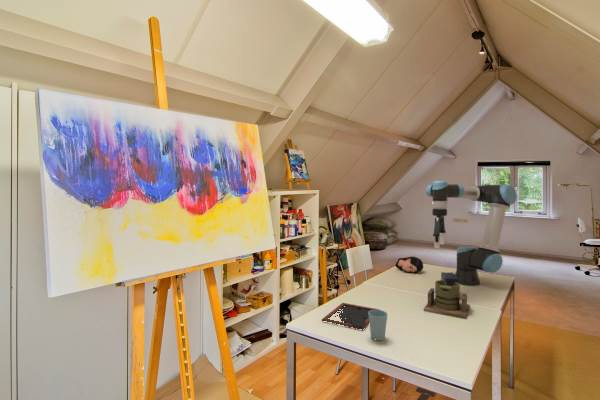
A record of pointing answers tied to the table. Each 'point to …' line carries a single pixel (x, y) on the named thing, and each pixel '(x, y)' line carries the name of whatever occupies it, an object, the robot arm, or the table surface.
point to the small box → (449, 278)
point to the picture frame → (351, 315)
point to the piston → (447, 296)
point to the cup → (377, 324)
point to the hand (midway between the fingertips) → (439, 246)
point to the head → (410, 264)
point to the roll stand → (458, 313)
